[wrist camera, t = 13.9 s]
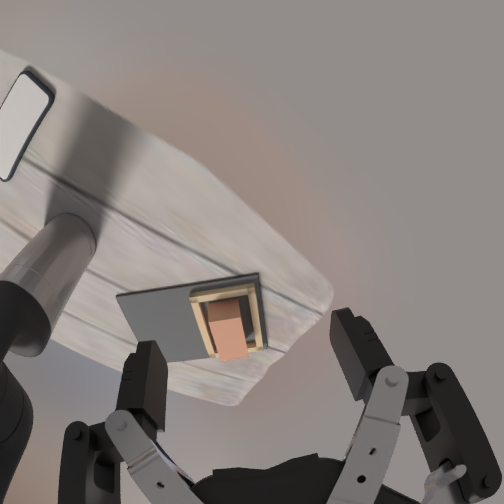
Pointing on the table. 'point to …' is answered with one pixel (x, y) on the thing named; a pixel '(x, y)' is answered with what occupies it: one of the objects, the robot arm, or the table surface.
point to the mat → (193, 316)
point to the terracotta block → (227, 329)
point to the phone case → (21, 119)
